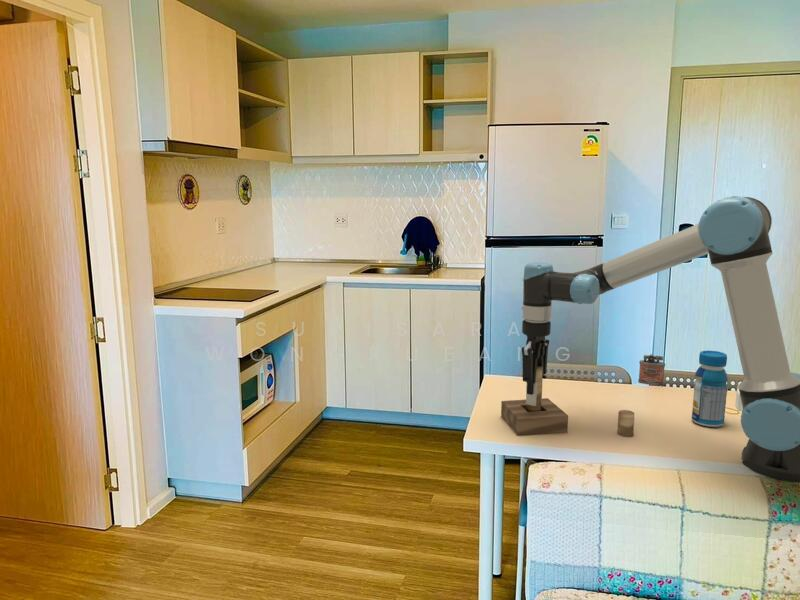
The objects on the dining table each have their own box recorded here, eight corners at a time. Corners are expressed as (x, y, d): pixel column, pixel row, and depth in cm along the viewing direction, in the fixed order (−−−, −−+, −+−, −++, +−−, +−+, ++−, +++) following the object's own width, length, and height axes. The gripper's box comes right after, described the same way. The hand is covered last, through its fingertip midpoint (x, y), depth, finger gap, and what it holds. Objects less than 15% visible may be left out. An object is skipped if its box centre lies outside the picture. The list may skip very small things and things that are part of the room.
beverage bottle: (711, 430, 160) (717, 358, 157) (684, 419, 168) (689, 351, 164) (731, 424, 164) (737, 354, 161) (703, 414, 172) (709, 348, 168)
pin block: (567, 433, 159) (568, 415, 158) (517, 436, 157) (518, 418, 156) (547, 414, 173) (547, 398, 172) (501, 417, 171) (501, 400, 170)
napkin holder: (736, 396, 189) (737, 379, 188) (772, 407, 179) (774, 388, 178) (706, 404, 182) (708, 386, 181) (743, 416, 172) (745, 397, 171)
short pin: (636, 436, 157) (637, 414, 156) (622, 437, 156) (623, 415, 155) (628, 430, 160) (629, 409, 159) (614, 431, 160) (615, 410, 159)
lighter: (637, 383, 201) (639, 354, 199) (638, 380, 204) (640, 352, 202) (663, 386, 197) (665, 357, 196) (664, 383, 200) (666, 355, 199)
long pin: (542, 417, 163) (544, 368, 160) (529, 418, 162) (530, 369, 160) (537, 412, 167) (539, 364, 164) (523, 413, 166) (525, 365, 164)
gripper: (535, 313, 168) (533, 392, 172) (510, 323, 156) (508, 408, 159) (561, 316, 164) (558, 397, 168) (537, 326, 151) (534, 414, 155)
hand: (533, 402), depth 164 cm, fingers closed on long pin, 3 cm apart
